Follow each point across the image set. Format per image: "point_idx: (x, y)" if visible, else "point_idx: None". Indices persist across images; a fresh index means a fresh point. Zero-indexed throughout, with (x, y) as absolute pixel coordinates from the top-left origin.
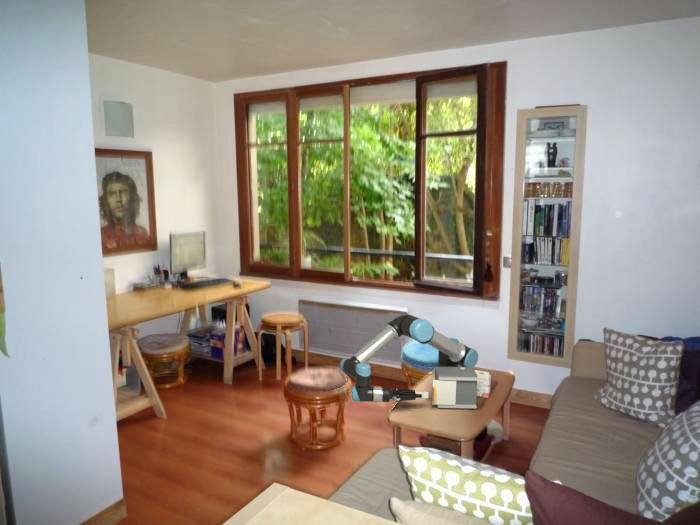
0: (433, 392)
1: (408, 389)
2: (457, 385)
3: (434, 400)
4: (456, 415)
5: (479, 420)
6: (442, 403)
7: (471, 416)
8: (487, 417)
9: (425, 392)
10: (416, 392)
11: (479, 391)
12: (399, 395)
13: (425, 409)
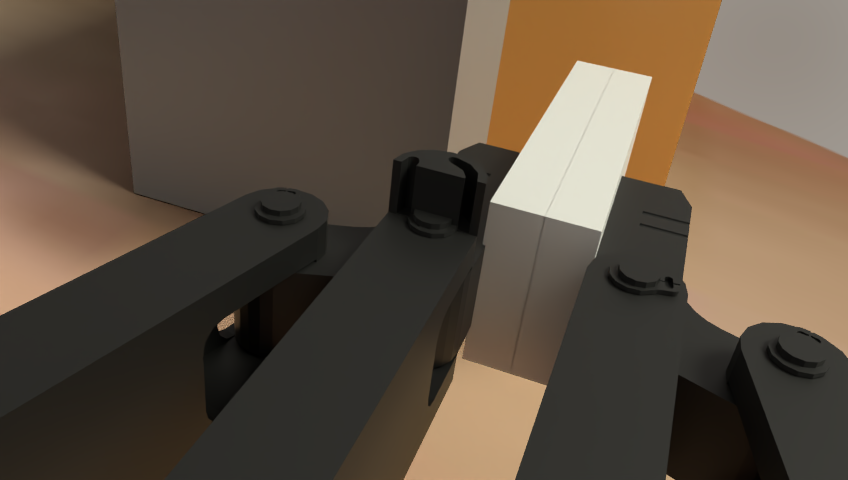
0: (646, 29)
1: (134, 268)
2: None
3: (664, 183)
4: (700, 233)
5: (815, 163)
6: None
7: (725, 166)
8: (743, 114)
9: (604, 92)
10: (567, 204)
11: None
12: None
13: (429, 429)
